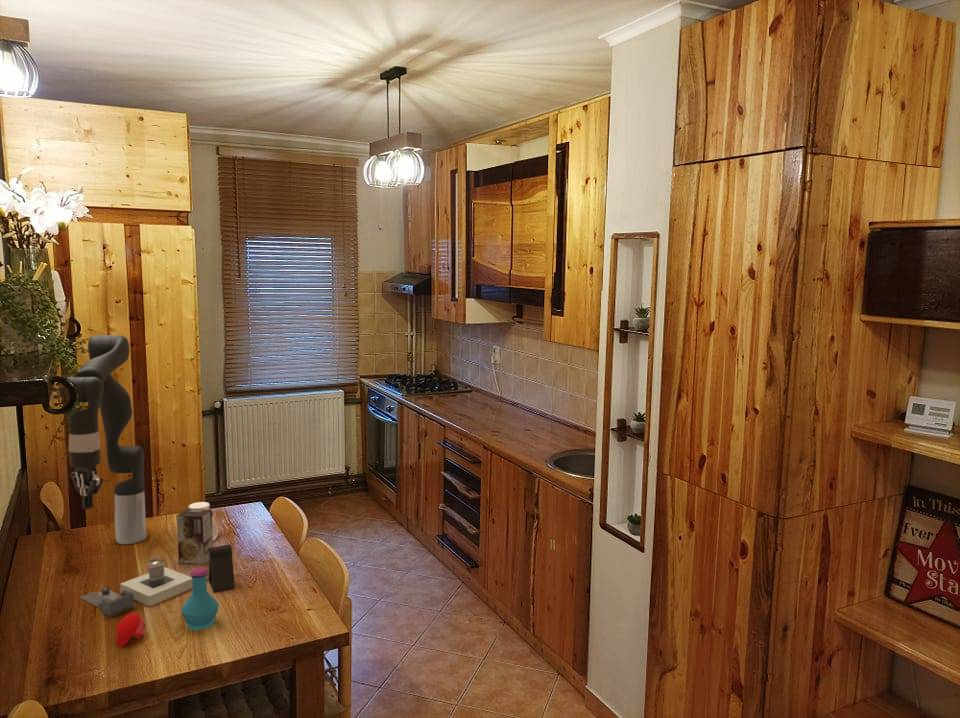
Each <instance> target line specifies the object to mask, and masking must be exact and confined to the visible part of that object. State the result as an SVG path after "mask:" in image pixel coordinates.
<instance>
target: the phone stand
mask: <svg viewBox="0 0 960 718" xmlns="http://www.w3.org/2000/svg"><path fill="white" fill-rule="evenodd" d="M232 548H233V547H232V545H231V544H224V545H218V546H213V547H212V548H209V561H208V562H209V563H208V571H209V572H208V578H207V581H208V583H209V585H210V588H211V590H212V593H219V592H224V591H228V590H233V589H236V588H235V587H236V586H235V576H234V575H235V573H234V561H233V549H232Z"/></svg>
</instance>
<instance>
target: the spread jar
mask: <svg viewBox="0 0 960 718" xmlns="http://www.w3.org/2000/svg"><path fill="white" fill-rule="evenodd" d="M210 506H211V505H210V503H209V502H207V501H198V502H197V501H196V502H194V503H190V504H189V505H188V509H200V510H212V509H211V508H210ZM218 534H219V529H218V527H217V525H216V524H215V516H214V512H213V510H212V536H213V541H215V540H216V538H217V537H218Z"/></svg>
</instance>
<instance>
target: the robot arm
mask: <svg viewBox="0 0 960 718" xmlns="http://www.w3.org/2000/svg"><path fill="white" fill-rule="evenodd" d="M87 350H88V351H87V352H88V357H89V360H88V361H85V362H84V364H83V365H82V366H81V367H80V369H78V370H77V371H78V374H77V375H76V376H71V377H67V376H66V377H67V378H68V379H70V381H71V382H72V383H74V384H75V385H76V387H77V390H78V401H77V404H78V403H80V404H81V403H87V407H86V408H84V409H79V410H75V411H73V412H71V413H69V415H68V432H69V433H68V434H69V437H68V453H69V454H68V455H69V456H68V457H69V465H70V467H72V468H74V472H70V474H69V476H70V478H71V481H72V484H73V485H74V488H75V491H76V492H77V493H79V495H80V496H81V505H82V506H81V507H82V509H85V510H88V509H91V508H93V507H94V498H93V497H94V496H93V495H96V494H98V492H99V490H100V488H101V486H102V484H103V481H104V479H103V477H101V478H99V476H98V469H97V466H98V465H100V463H102V458H101V440H100V439H101V438H100V433H99V420H98V419H99V411H100V416H101V421H102V425H103V430H104V437H105V444H106V445H105V449H106V460H107V466H108V469H109V471H110V472H111V473H112V474H132V475H131V477H129V478H128V479H125V480H123V481H122V480H121V481H120V482H117V483H116V484H115V485H114V489H113V490H114V491H113V492H114V528H115V529H114V531H115V539H116V543H117V544H120V545H130V544H132V545H133V544H138V543H140V542H142V541H145V540H146V538H147V528H146V527H147V526H146V525H147V524H146V522H147V521H146V501H145V498H146V497H145V452H144V449H143V447H142V446H140V445H126V446H125V445H124V446H120V444H119V440H120V437H121V436H122V433H123V431H124V430H125V429H126V427H127V425H128V424H129V422H130V421H131V418H132V417H133V407H132V406H133V405H132V399H131V396H130V394H129V392H128V391H127V390H126V389H125V388H124V387H123V386H122V384H121V383H120V382H119V381H117V380H116V379H115V378H114V376H113V375H112V374H111V373H113V372H114V371H116V369H119V368H120V367H121V366H122V365H124V364H125V363H126V362H127V360H128V359H129V356H130V344H129V339H127V338H126V336H123V335H118V334H115V335H114V334H111V335H108V334H107V335H106V334H105V335H102V334H100V335H99V334H98V335H92V336H90V338H89V339H88V343H87ZM58 395H59V397H60V398H61V400H63V395H64V391H63V389H62V387H61V386H60V385H59V387H58Z"/></svg>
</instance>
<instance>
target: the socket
mask: <svg viewBox="0 0 960 718" xmlns="http://www.w3.org/2000/svg"><path fill="white" fill-rule="evenodd" d="M164 581H165V584H163V585H161V586H158V587H156V588H151V587H150V584H149V572H148V573H145V574H143V575H140V576H137V577H134V578H131V579H129V580H125V581H124V582H121V583H119V584H120V595H122V591H124V590H126V591H128V592H130V593H133V597H134V601H136V602H138V603H140V604H144V605H145V606H148V607H151V606H154V605H156V604H158V603H161V602H163V601H165V600H168V599H171V598H173V597H175V596H177V595H180V594H183V593H184V592H187V591H190V590H193V589H192V578H191V576H189V575H186V574H183V573H181V572H178V571H176V570H173V569H171V568H168V567H166V566H164Z"/></svg>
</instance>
